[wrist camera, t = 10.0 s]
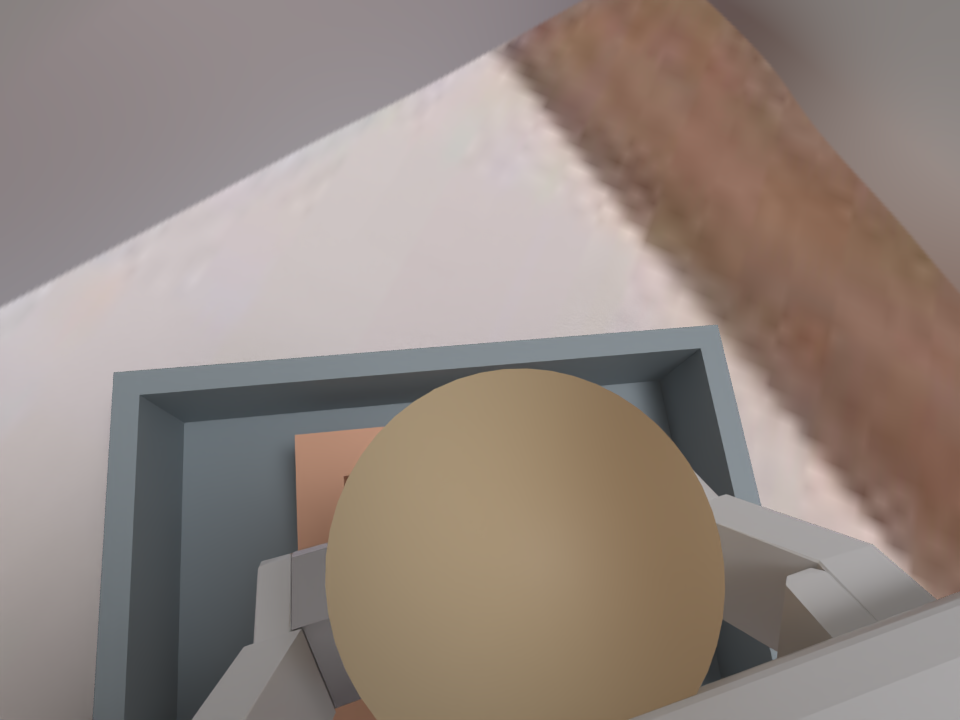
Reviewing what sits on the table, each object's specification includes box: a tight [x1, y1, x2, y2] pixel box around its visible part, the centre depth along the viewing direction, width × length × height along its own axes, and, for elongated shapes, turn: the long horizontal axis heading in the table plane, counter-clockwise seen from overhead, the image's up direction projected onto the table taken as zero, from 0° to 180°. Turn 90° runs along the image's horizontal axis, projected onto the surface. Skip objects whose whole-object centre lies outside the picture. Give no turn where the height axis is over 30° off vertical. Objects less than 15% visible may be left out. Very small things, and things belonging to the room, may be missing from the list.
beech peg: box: [325, 368, 725, 720], centre depth 11 cm, size 4×4×10 cm
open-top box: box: [93, 325, 777, 720], centre depth 22 cm, size 20×14×5 cm
